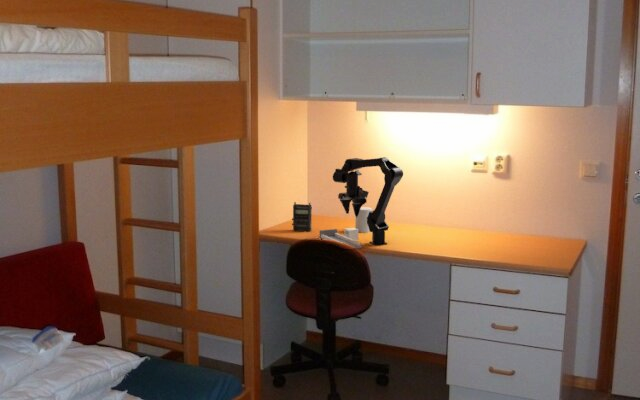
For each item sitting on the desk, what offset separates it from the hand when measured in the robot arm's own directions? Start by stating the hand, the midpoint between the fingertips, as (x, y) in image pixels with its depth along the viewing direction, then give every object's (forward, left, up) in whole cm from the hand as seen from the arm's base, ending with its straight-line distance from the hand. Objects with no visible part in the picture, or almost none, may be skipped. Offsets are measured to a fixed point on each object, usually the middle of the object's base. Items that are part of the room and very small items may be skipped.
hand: (352, 215), depth 356 cm
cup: (+13, -14, -12) cm, 23 cm away
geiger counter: (+27, +15, -12) cm, 33 cm away
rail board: (-6, +10, -12) cm, 17 cm away
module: (0, 0, -12) cm, 12 cm away
